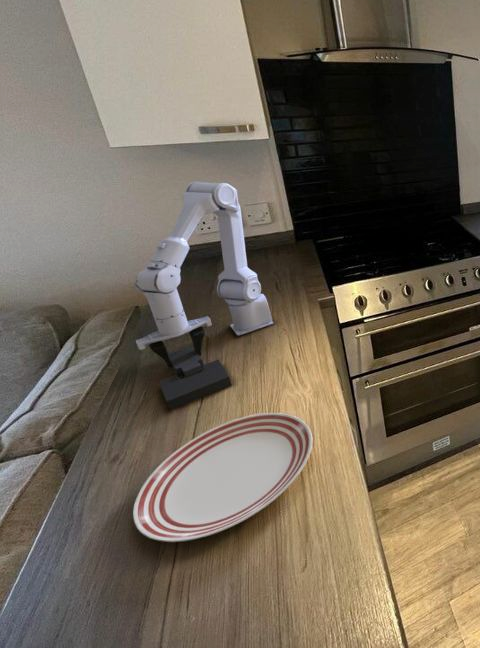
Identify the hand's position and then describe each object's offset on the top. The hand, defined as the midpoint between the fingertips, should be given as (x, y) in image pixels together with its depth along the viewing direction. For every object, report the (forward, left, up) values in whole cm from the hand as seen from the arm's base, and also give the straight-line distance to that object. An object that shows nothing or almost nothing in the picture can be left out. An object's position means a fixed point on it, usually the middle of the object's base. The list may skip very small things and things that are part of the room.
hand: (184, 360), depth 111 cm
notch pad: (0, +10, -2) cm, 11 cm away
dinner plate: (+1, +46, -3) cm, 47 cm away
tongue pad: (0, +1, -2) cm, 2 cm away
